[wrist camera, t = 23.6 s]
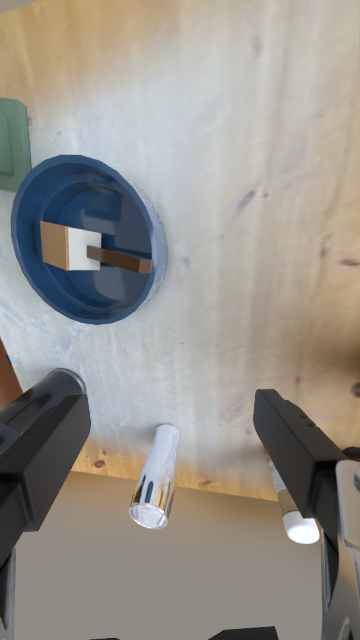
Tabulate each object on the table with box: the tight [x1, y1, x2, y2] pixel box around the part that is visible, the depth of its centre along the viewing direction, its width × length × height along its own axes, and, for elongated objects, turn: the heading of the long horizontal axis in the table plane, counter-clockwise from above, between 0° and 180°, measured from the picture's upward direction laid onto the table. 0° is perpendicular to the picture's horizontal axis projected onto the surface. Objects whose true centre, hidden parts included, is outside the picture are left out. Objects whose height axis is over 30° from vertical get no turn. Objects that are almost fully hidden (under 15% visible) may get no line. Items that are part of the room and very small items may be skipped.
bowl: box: [11, 155, 167, 325], centre depth 29 cm, size 22×22×6 cm
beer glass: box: [129, 424, 181, 529], centre depth 37 cm, size 7×7×15 cm
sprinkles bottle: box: [265, 449, 319, 544], centre depth 34 cm, size 5×4×14 cm
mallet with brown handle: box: [40, 221, 153, 274], centre depth 26 cm, size 16×6×5 cm, turn 79°
